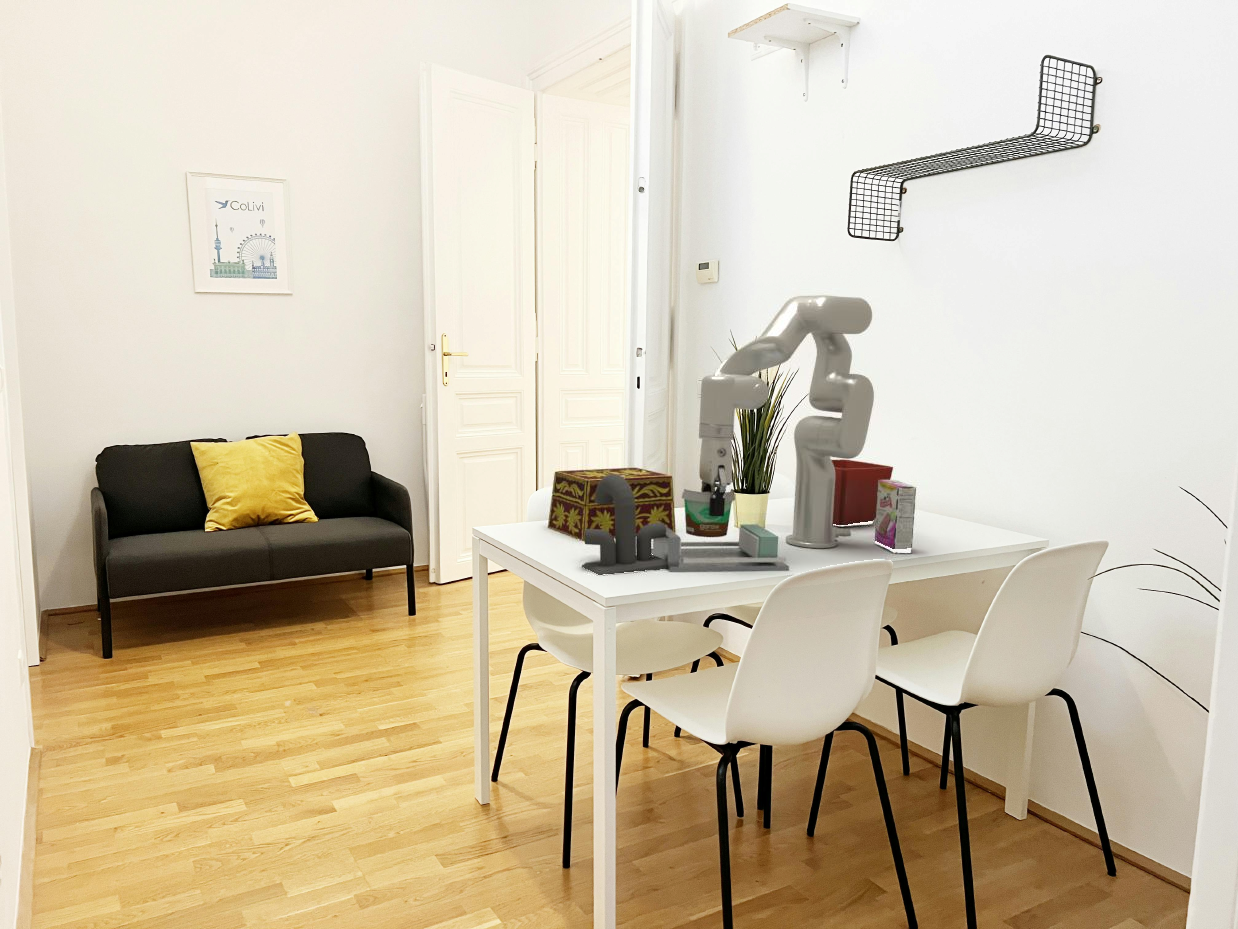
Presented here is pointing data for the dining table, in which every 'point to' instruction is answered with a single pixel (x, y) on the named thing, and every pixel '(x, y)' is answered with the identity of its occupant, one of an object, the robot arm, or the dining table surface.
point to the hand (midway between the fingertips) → (712, 512)
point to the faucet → (623, 533)
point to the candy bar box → (895, 514)
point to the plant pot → (857, 490)
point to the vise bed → (709, 556)
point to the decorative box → (581, 512)
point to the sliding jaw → (757, 541)
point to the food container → (705, 514)
